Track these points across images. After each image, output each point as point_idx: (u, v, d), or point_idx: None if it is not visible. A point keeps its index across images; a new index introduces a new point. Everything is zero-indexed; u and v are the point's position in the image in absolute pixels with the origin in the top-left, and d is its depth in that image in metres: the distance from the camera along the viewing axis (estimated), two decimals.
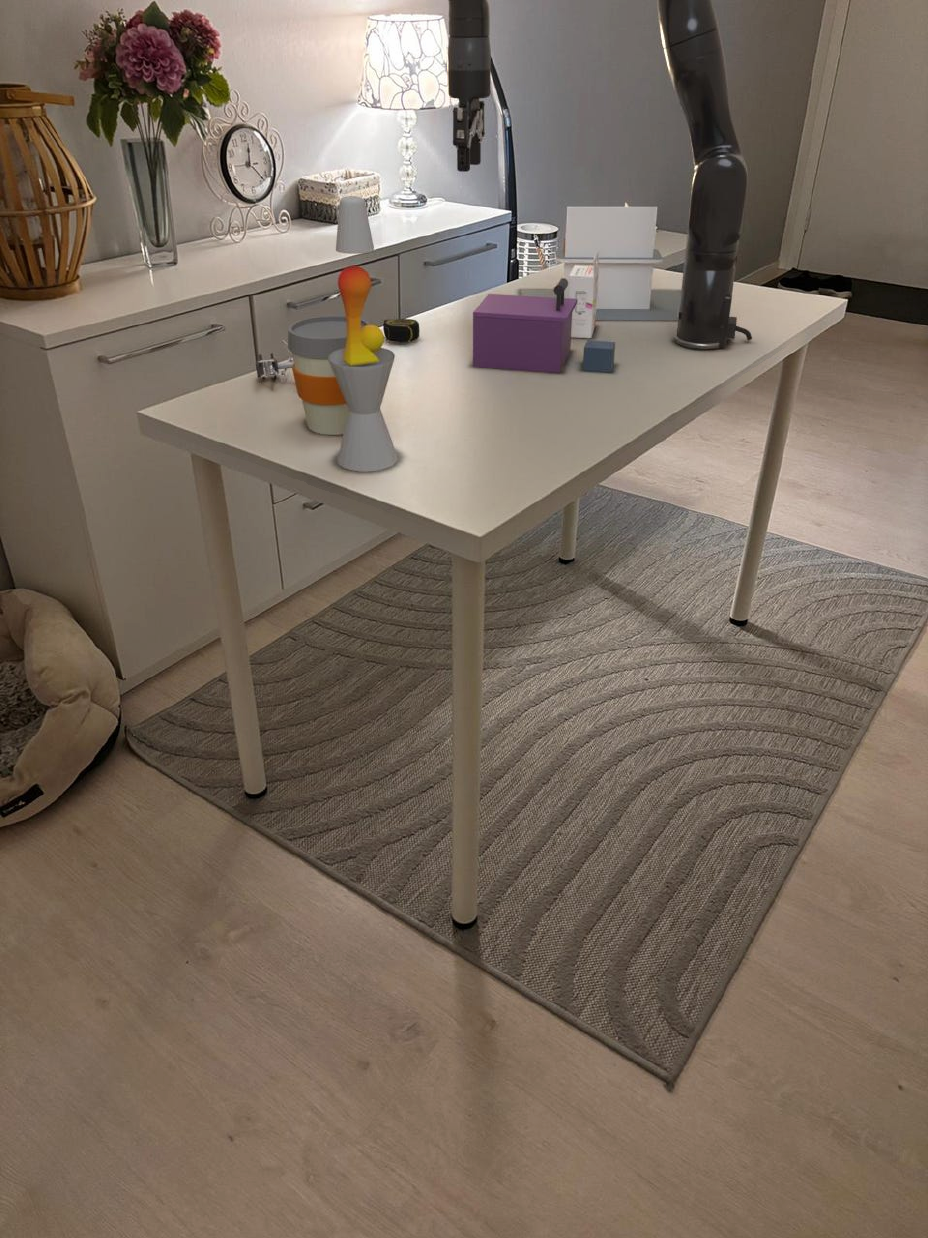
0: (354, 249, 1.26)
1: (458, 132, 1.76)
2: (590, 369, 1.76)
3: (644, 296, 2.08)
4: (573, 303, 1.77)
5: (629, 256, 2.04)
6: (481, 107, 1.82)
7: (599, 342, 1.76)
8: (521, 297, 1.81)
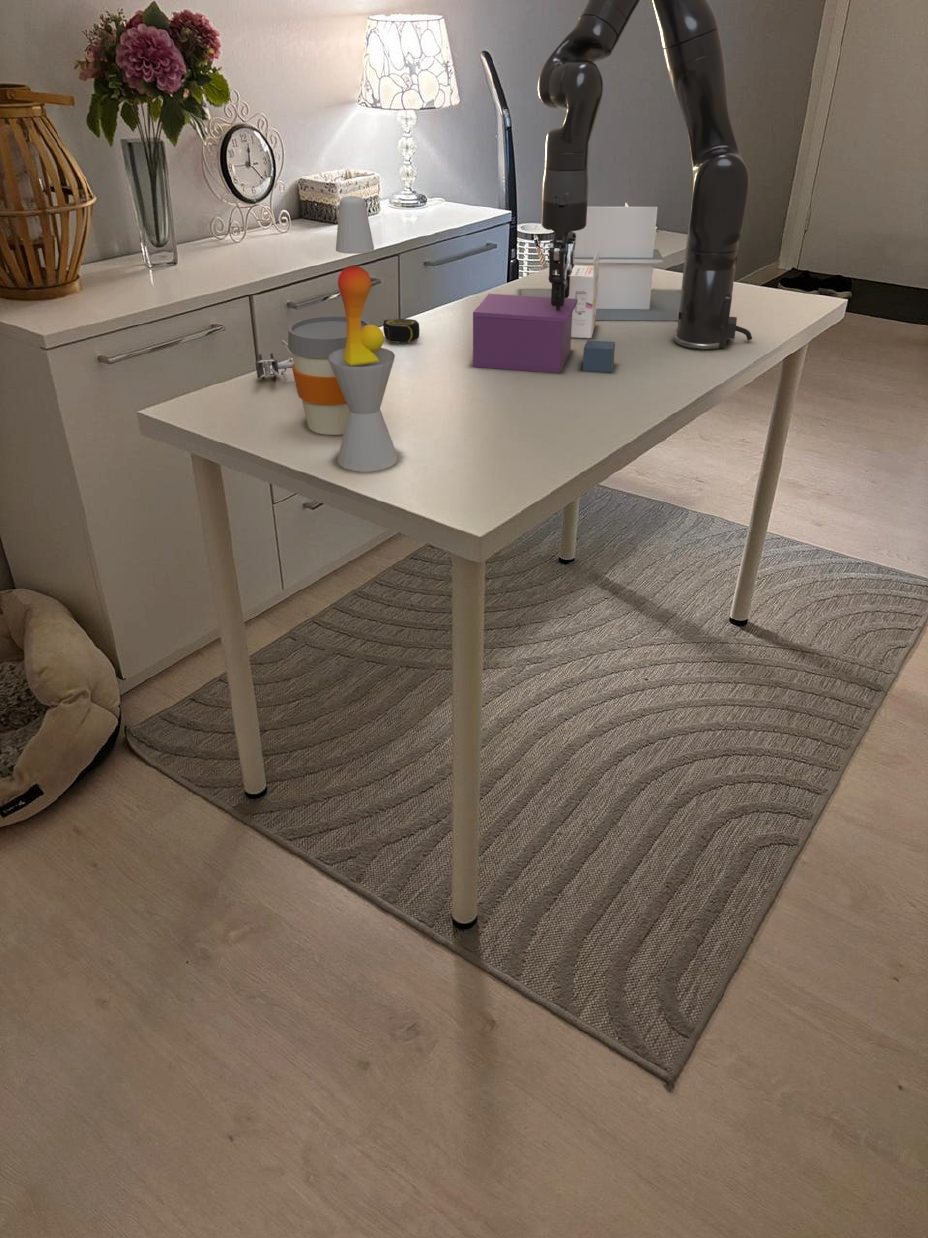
0: (354, 249, 1.26)
1: None
2: (590, 369, 1.76)
3: (644, 296, 2.08)
4: (573, 303, 1.77)
5: (629, 256, 2.04)
6: None
7: (599, 342, 1.76)
8: (521, 297, 1.81)
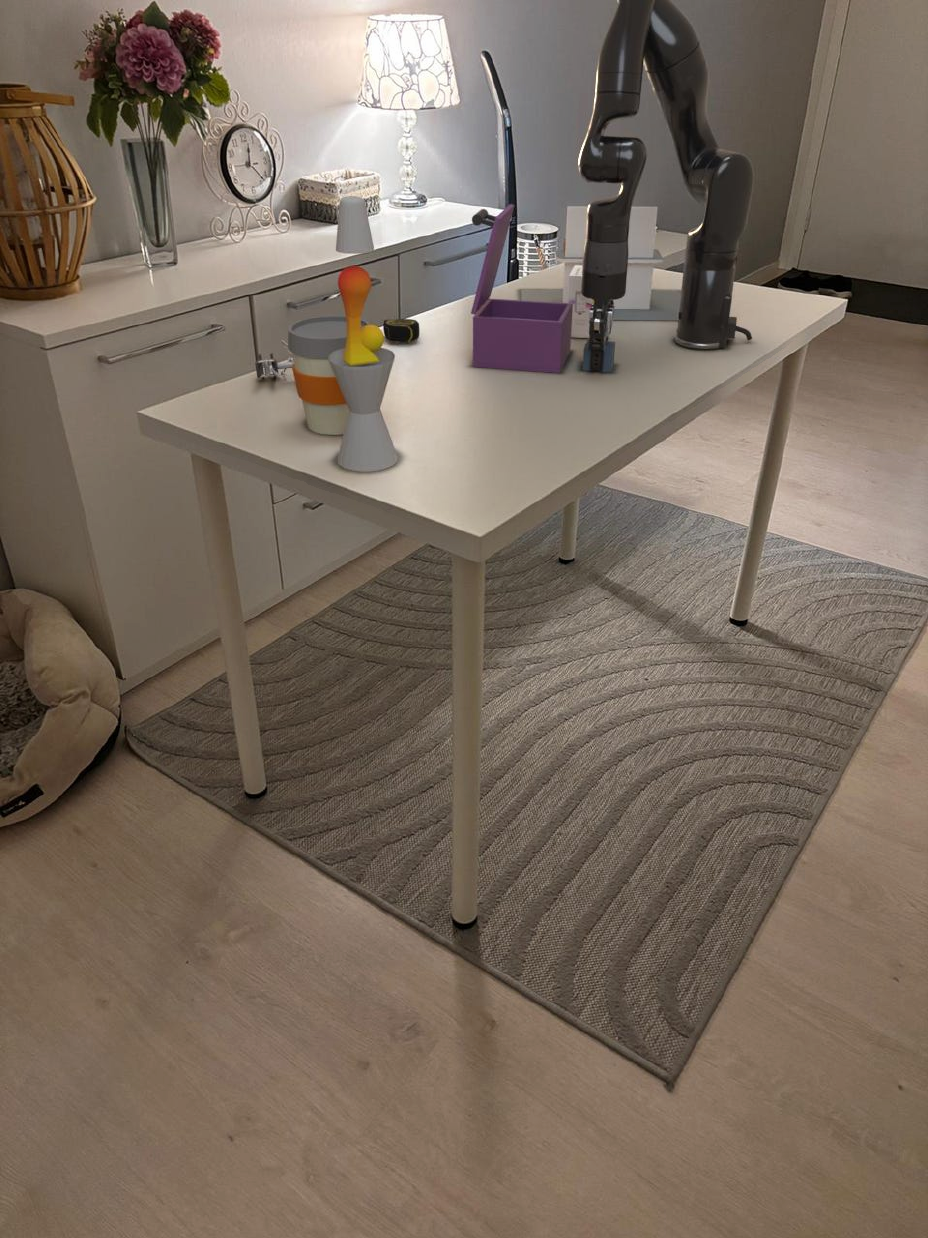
0: (354, 249, 1.26)
1: None
2: None
3: (644, 296, 2.08)
4: (506, 208, 1.72)
5: (629, 256, 2.04)
6: None
7: (599, 342, 1.76)
8: None
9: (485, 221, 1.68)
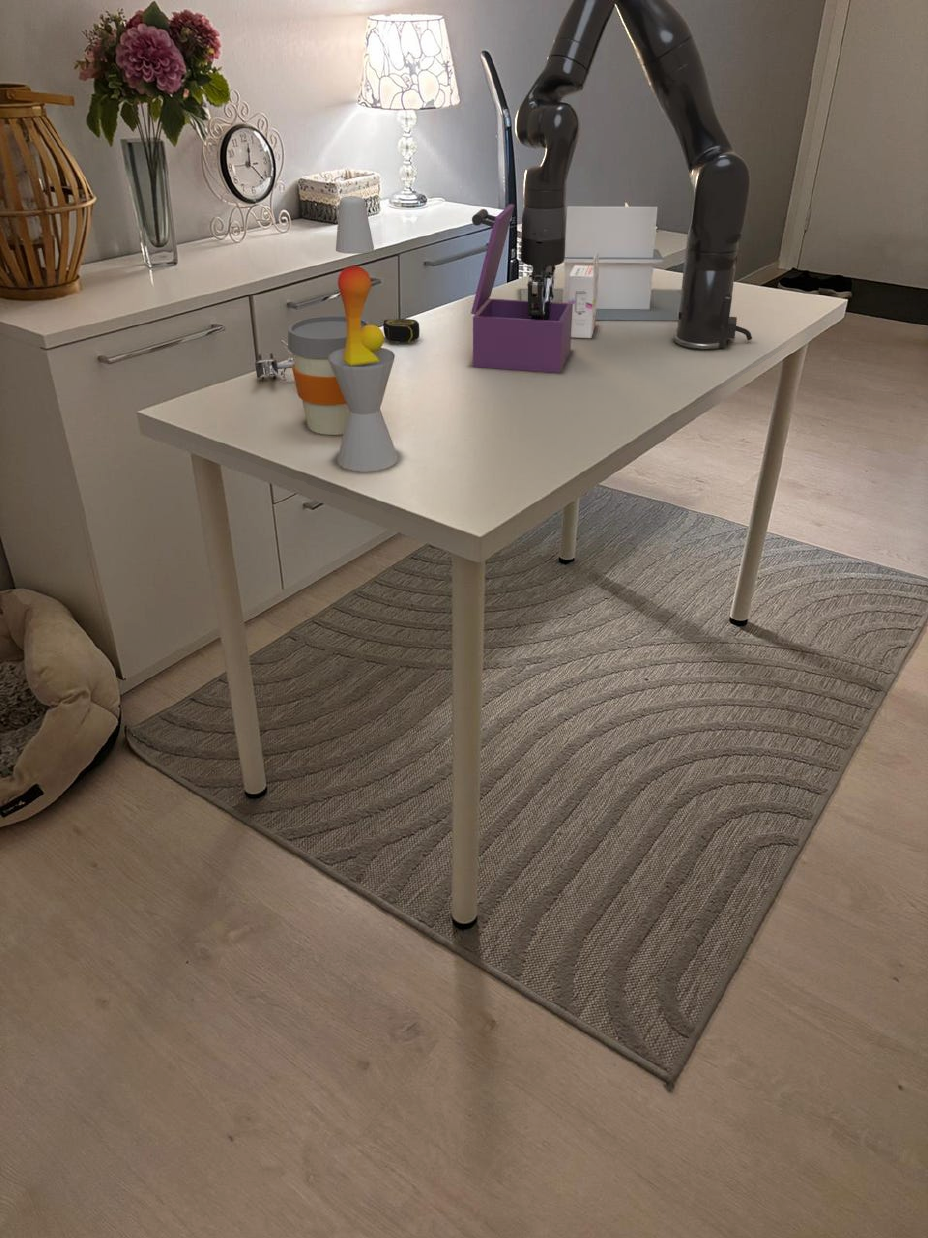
0: (354, 249, 1.26)
1: None
2: None
3: (644, 296, 2.08)
4: (506, 208, 1.72)
5: (629, 256, 2.04)
6: None
7: None
8: None
9: (485, 221, 1.68)
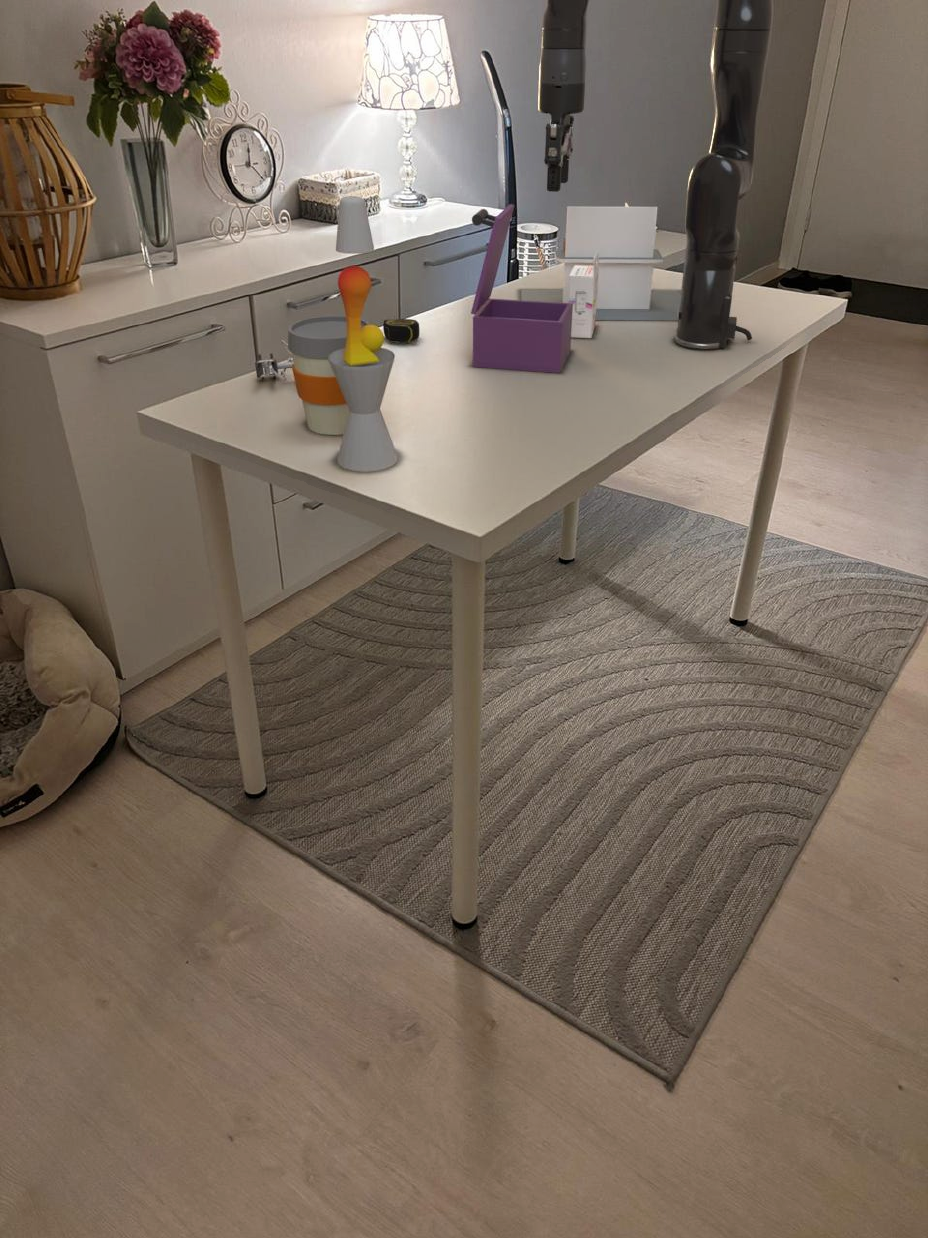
0: (354, 249, 1.26)
1: None
2: None
3: (644, 296, 2.08)
4: (506, 208, 1.72)
5: (629, 256, 2.04)
6: None
7: None
8: None
9: (485, 221, 1.68)
